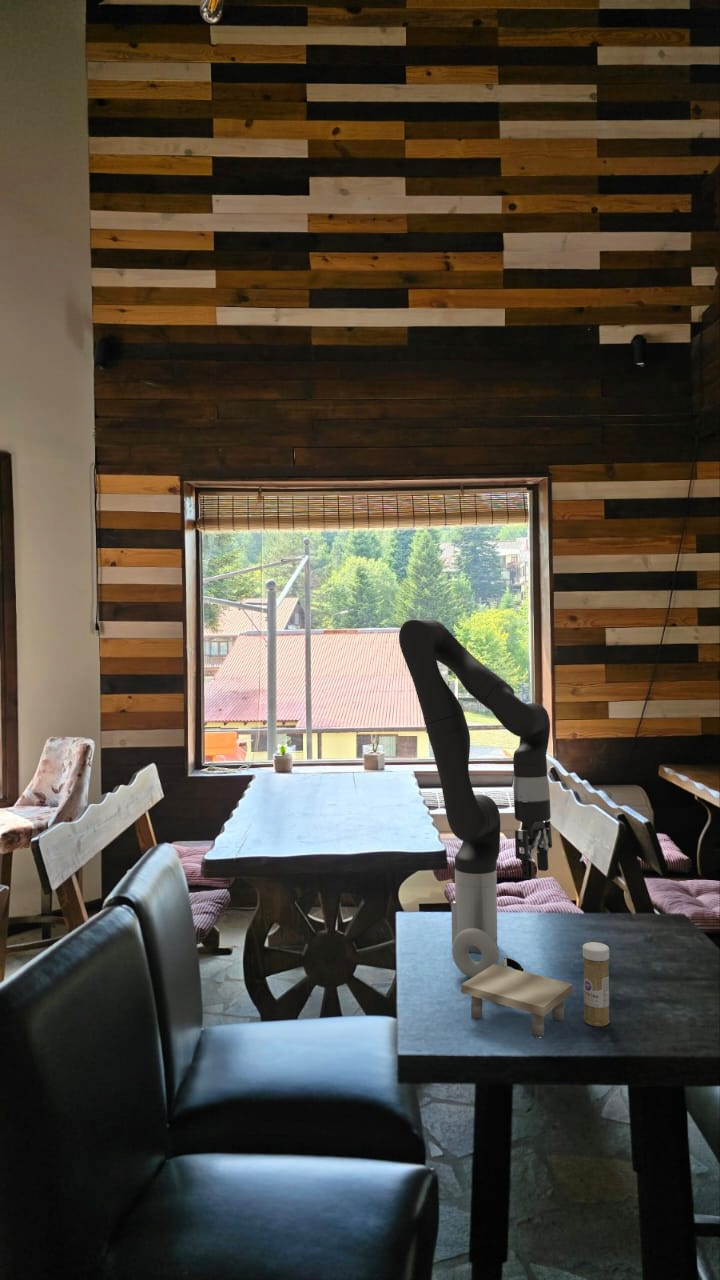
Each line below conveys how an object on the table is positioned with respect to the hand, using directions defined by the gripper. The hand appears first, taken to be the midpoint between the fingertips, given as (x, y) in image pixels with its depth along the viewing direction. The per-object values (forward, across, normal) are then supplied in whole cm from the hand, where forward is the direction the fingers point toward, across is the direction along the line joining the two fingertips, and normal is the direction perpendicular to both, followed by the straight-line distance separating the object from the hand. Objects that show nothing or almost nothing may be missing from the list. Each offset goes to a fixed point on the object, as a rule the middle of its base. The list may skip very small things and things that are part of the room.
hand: (535, 874), depth 176 cm
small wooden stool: (+20, +26, +6) cm, 33 cm away
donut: (+19, +14, -8) cm, 25 cm away
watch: (+19, +9, -2) cm, 21 cm away
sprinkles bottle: (+20, +20, +19) cm, 34 cm away
